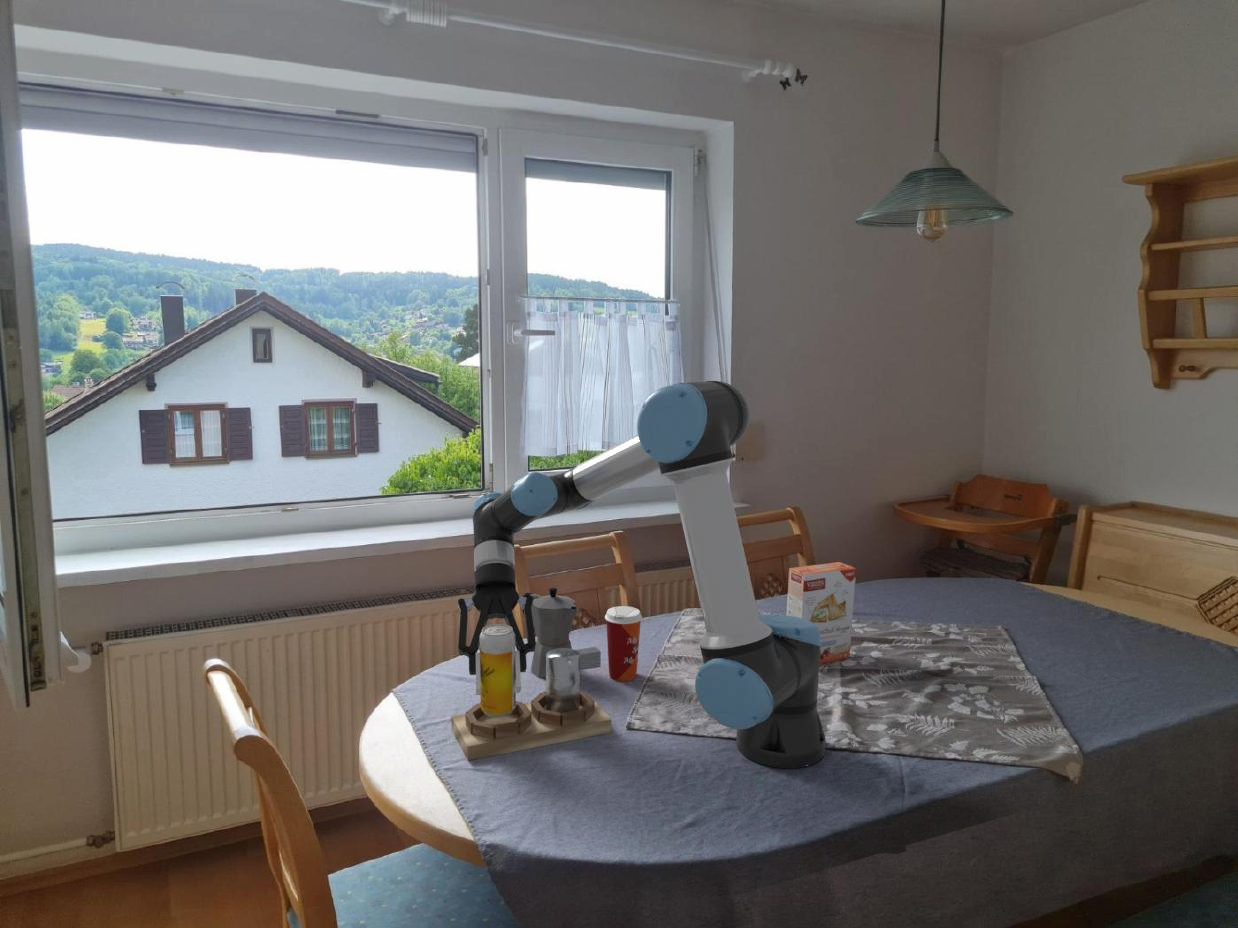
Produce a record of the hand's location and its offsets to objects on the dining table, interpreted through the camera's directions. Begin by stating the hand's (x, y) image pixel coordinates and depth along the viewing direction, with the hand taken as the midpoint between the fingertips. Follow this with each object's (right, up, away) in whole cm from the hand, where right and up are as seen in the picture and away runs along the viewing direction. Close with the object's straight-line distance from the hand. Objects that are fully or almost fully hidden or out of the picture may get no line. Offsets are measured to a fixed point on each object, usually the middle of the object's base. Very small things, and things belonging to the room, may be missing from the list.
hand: (498, 690), depth 146 cm
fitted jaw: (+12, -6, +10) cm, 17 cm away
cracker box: (+64, -4, +42) cm, 76 cm away
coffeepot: (+6, -5, +35) cm, 36 cm away
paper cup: (+21, -6, +32) cm, 39 cm away
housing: (+5, -9, +8) cm, 13 cm away
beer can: (-1, -5, +4) cm, 7 cm away
